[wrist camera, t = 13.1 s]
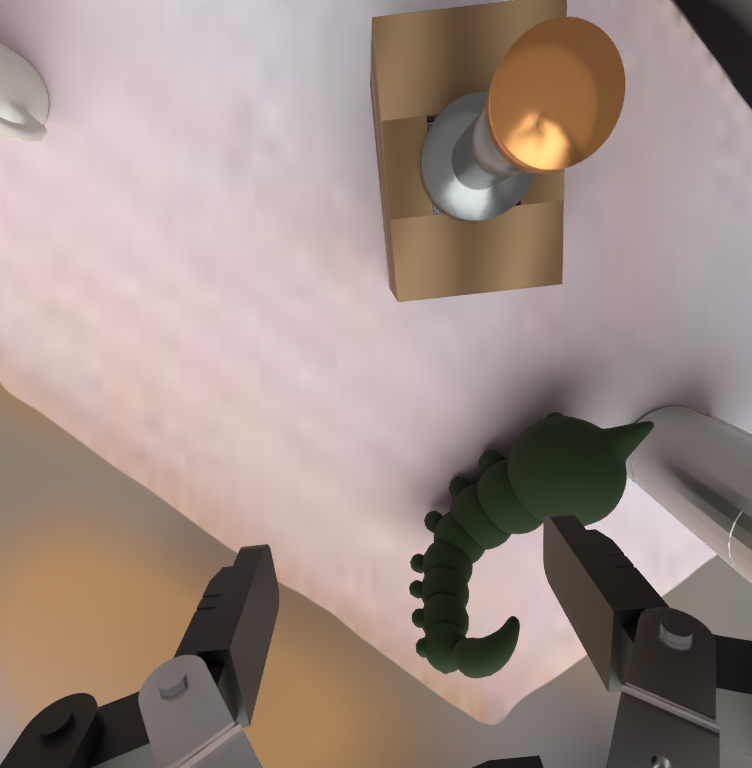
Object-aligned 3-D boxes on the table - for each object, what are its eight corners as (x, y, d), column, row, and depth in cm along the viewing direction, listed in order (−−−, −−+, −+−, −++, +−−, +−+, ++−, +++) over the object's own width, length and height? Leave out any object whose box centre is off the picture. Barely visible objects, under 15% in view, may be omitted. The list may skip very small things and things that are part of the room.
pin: (492, 129, 34) (665, -36, 14) (494, 222, 36) (649, 190, 16) (404, 139, 34) (455, -11, 14) (411, 232, 36) (465, 211, 16)
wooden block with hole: (507, 70, 35) (566, -6, 25) (510, 274, 40) (562, 284, 30) (370, 86, 36) (372, 17, 25) (389, 288, 40) (398, 302, 30)
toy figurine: (447, 556, 51) (635, 417, 44) (475, 738, 33) (798, 553, 26) (389, 506, 49) (576, 352, 42) (385, 672, 31) (709, 451, 24)
